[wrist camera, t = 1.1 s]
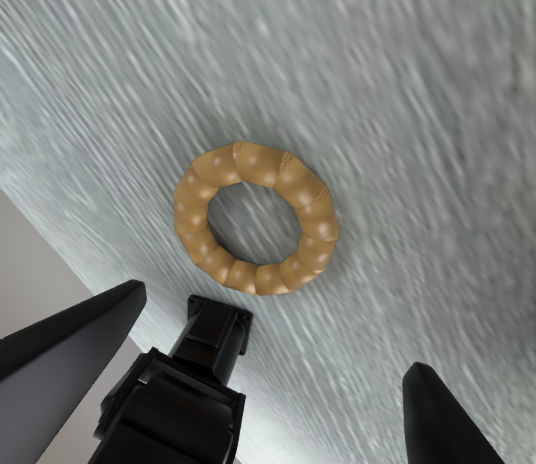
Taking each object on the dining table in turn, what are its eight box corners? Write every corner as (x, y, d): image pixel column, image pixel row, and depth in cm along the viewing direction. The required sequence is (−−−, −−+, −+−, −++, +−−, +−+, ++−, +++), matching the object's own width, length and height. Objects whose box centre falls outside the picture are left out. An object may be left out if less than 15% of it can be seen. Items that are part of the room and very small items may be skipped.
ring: (313, 297, 23) (310, 318, 21) (184, 259, 24) (170, 276, 22) (361, 163, 17) (364, 176, 15) (183, 122, 18) (163, 128, 16)
